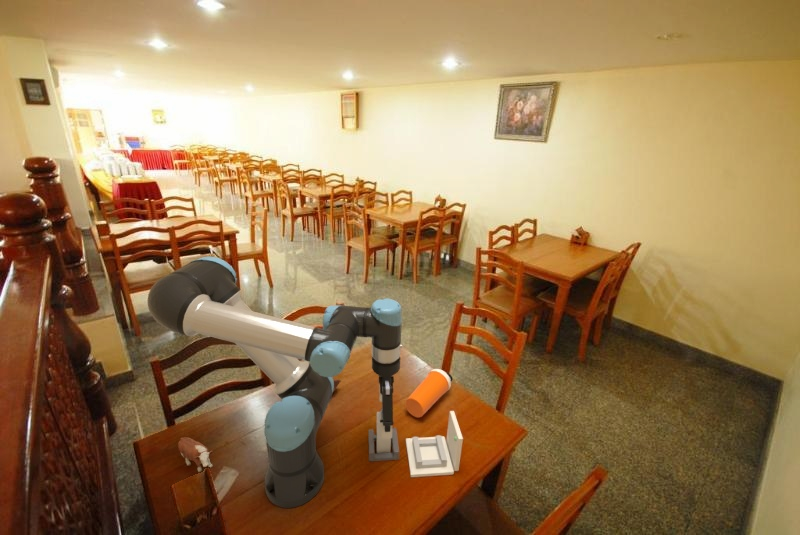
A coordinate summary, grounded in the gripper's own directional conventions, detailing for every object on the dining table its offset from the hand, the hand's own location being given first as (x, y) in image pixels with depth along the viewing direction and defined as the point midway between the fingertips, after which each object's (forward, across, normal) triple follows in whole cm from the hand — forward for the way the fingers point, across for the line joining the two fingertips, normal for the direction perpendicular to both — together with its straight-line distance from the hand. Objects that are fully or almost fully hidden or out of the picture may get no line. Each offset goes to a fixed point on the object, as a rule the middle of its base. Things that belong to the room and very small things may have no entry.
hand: (385, 418), depth 100 cm
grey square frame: (+12, 0, 0) cm, 12 cm away
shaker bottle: (+7, +11, -10) cm, 16 cm away
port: (+12, -4, -12) cm, 18 cm away
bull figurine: (+11, -2, +51) cm, 52 cm away
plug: (+12, 0, 0) cm, 12 cm away
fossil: (+12, +23, +21) cm, 33 cm away
